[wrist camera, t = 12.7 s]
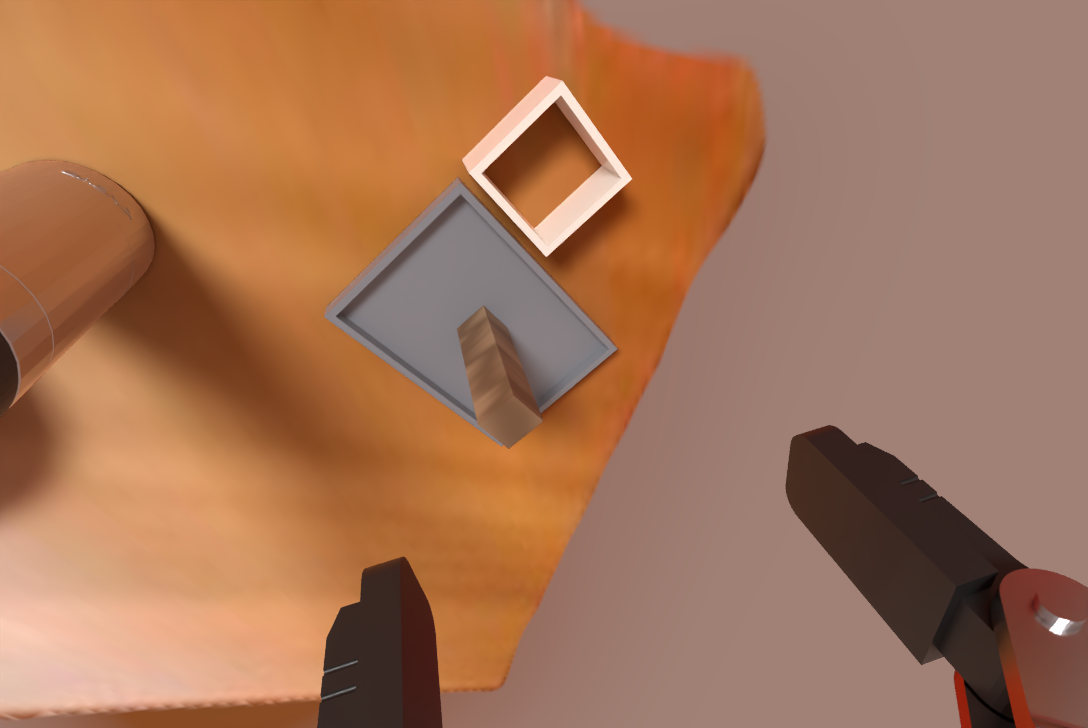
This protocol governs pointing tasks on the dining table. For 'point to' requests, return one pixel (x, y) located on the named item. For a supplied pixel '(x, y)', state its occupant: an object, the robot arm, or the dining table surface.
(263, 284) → the dining table surface
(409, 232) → the tray
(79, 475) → the dining table surface
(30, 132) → the dining table surface
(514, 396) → the peg
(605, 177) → the square frame
